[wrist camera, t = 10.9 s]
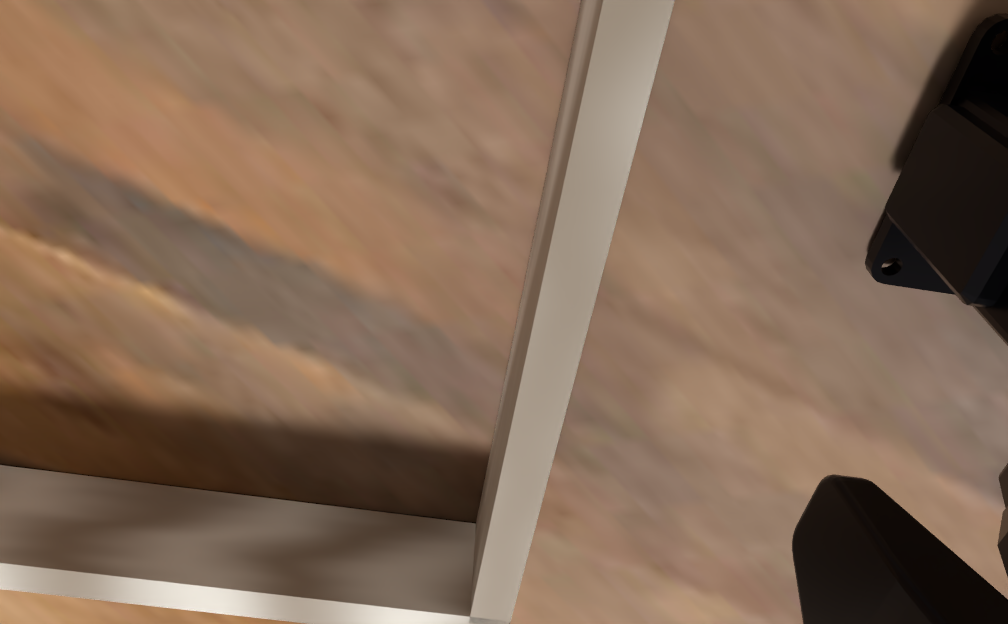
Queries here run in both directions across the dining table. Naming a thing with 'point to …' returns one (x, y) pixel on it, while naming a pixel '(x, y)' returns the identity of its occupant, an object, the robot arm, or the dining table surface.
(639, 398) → the dining table surface
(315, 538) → the metal u frame
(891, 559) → the robot arm
